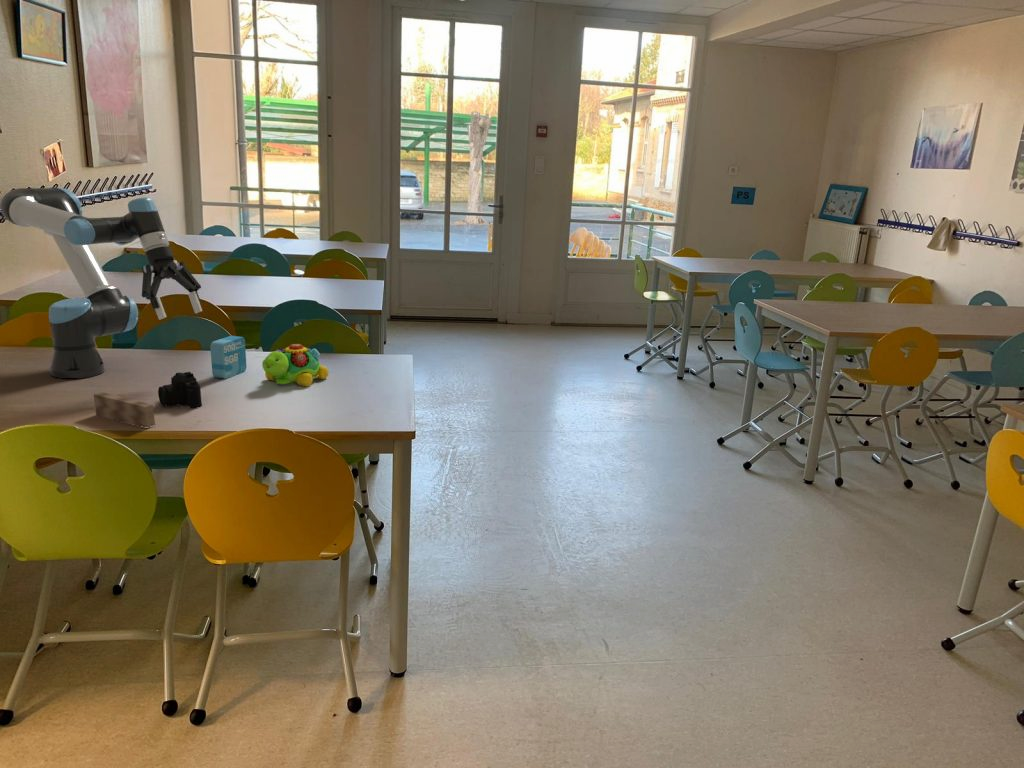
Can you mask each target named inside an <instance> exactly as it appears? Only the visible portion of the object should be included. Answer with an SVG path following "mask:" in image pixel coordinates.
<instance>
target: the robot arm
mask: <svg viewBox="0 0 1024 768" xmlns="http://www.w3.org/2000/svg"><path fill="white" fill-rule="evenodd" d="M81 208H82V204H81V201H80V199H79V198H78V197H77V195H76V194H75V193H74V192H73V191H71V190H70V189H68V188H63V187H62V188H61V187H54V186H52V187H43V188H42V187H38V188H37V187H35V188H34V187H33V188H32V187H29V188H26V187H22V188H20V187H18V188H15V189H12V190H9V191H7V192H6V193H5V194H4V195H3V196H2V198H1V200H0V212H1V214H2V216H3V217H4V218H5V219H6V220H7V221H8V222H9V223H11V224H12V225H16V226H20V227H23V228H29V227H30V228H31V227H33V228H37V229H39V230H42V231H43V232H44V233H45V234H46V235H49V236H52V238H53V240H54V242H55V244H56V245H57V247H58V249H59V252H61V255H62V257H63V258H64V260H65V261H66V263H67V266H68V267H69V269H70V271H71V273H72V275H73V276H74V278H75V280H76V282H77V284H78V286H79V287H80V289H81V291H82V293H83V294H84V297H74V298H65V299H62V300H61V299H60V300H59V301H56V302H54V303H52V304H51V305H50V306H49V308H48V320H49V325H50V332H51V338H52V339H51V340H52V347H53V354H52V359H51V363H50V367H49V369H50V370H49V371H50V375H52V376H54V377H53V378H55V377H58V378H57V379H61V378H77V379H85V378H91V377H94V376H98V375H100V374H103V373H104V372H105V371H106V370H105V369H106V368H105V364H104V361H103V359H102V357H101V355H100V354H99V353H100V352H98V349H97V345H96V338H99V337H104V336H111V335H115V334H122V333H125V332H128V331H131V330H133V329H134V328H135V327H136V325H137V323H138V320H139V309H138V305H137V303H136V301H135V299H133V297H130V296H129V295H124V294H122V292H121V290H120V289H119V288H118V287H116V286H112V284H111V282H110V280H109V278H108V277H107V274H106V273H105V271H104V269H103V268H102V266H101V264H100V262H99V261H98V259H97V257H96V254H95V253H94V251H93V250H92V247H91V246H90V245H97V244H110V243H111V244H113V243H114V244H117V245H119V246H125V245H128V244H131V243H133V242H135V241H136V240H137V239H139V241H140V245H141V247H142V249H143V252H144V256H145V257H146V260H147V263H148V264H146V265H144V266H142V267H141V271H142V285H141V298H143V299H144V298H145V299H146V300H149V301H150V305H151V307H152V309H154V310H155V313H156V316H157V318H158V320H162V319H165V318H167V314H166V312H165V309H164V306H163V303H162V300H161V298H160V295H159V296H157V294H158V291H159V288H160V286H161V283H162V280H165V279H169V280H170V279H172V280H173V281H176V283H178V284H179V285H181V287H182V288H184V289H185V290H186V291H187V292H189V293H187V295H188V298H189V300H190V303H191V307H192V308H193V309H192V310H193V311H194V314H198V313H200V312H203V309H202V306H201V303H200V300H201V298H200V296H199V293H198V291H199V290H200V289H201V288H202V285H201V284H200V283H199V282H198V280H197V279H196V278H195V277H194V276H193V274H192V273H191V272H190V270H189V269H188V268H187V266H186V264H185V262H184V261H182V260H181V261H180V262H177V263H176V262H175V261H174V260H175V259H174V258H175V256H174V254H173V250H172V248H171V247H170V242H169V240H168V236H167V234H166V231H165V228H164V225H163V222H162V220H161V216H160V214H159V209H157V208H158V207H157V206H156V204H155V201H154V200H153V198H151V197H137V198H134V199H132V200H130V201H128V203H127V209H128V213H127V214H124V215H123V216H111V217H86V216H83V210H82V209H81ZM153 273H154V274H153ZM152 274H153V275H152ZM52 376H51V377H52Z"/></svg>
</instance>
